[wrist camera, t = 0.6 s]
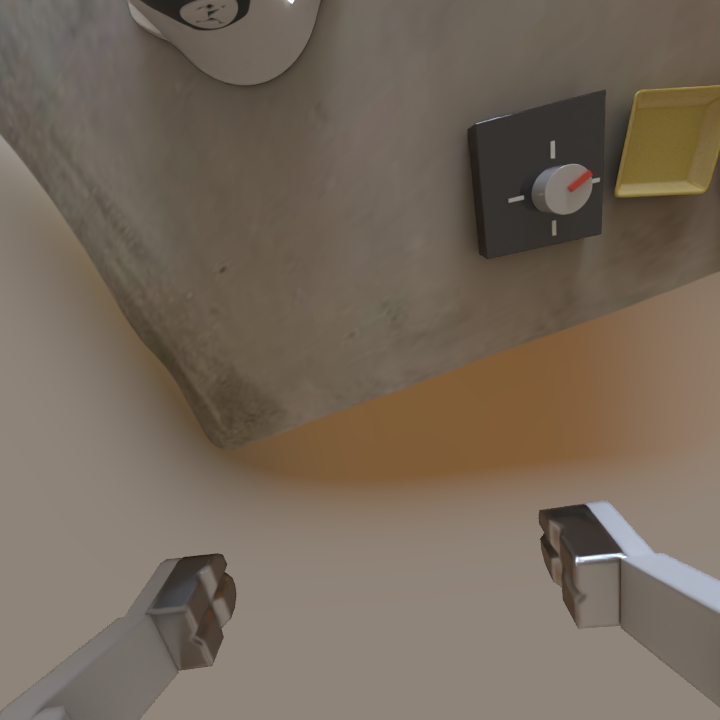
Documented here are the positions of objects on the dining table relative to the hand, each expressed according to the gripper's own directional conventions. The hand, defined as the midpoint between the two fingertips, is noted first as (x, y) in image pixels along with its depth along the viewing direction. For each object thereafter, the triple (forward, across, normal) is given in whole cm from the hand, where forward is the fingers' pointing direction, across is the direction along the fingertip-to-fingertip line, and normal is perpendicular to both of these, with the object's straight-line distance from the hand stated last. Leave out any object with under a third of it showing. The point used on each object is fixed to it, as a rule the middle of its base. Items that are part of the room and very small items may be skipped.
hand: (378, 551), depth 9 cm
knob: (+31, -18, -9) cm, 37 cm away
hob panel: (+34, -17, -10) cm, 39 cm away
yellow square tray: (+34, -29, -10) cm, 46 cm away
